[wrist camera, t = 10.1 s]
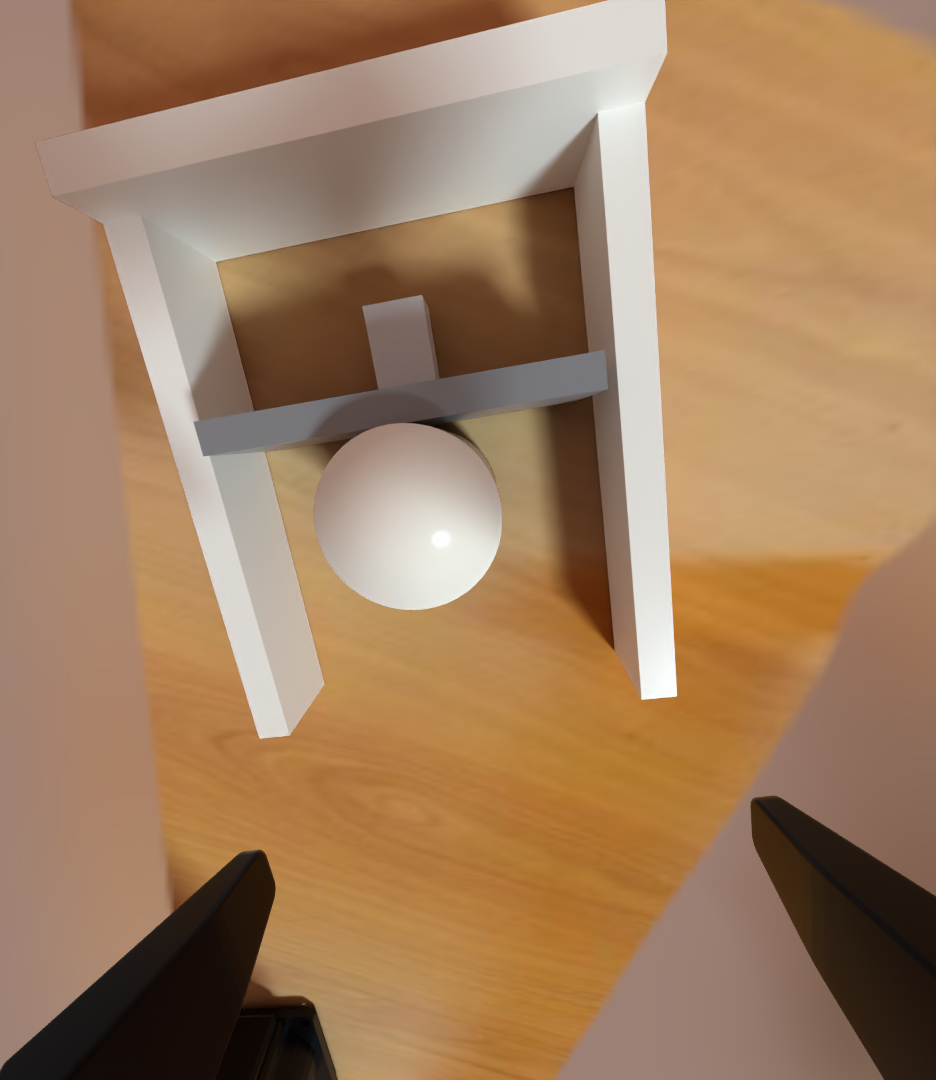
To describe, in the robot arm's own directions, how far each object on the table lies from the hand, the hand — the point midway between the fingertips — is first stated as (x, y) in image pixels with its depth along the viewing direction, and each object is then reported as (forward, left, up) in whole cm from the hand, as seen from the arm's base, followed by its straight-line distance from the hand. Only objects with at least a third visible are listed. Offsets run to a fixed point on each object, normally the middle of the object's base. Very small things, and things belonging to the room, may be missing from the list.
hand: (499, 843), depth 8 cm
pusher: (+10, +2, -11) cm, 15 cm away
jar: (+5, +2, -11) cm, 12 cm away
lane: (+6, +2, -11) cm, 13 cm away
